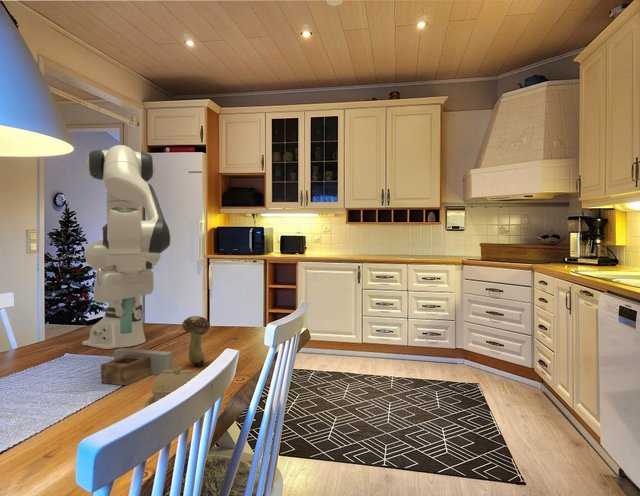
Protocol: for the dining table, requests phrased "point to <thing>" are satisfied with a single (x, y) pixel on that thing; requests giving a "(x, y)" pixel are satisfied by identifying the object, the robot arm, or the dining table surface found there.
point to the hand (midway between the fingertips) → (125, 314)
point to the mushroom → (196, 337)
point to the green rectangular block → (126, 317)
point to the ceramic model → (169, 383)
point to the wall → (158, 358)
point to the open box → (126, 369)
